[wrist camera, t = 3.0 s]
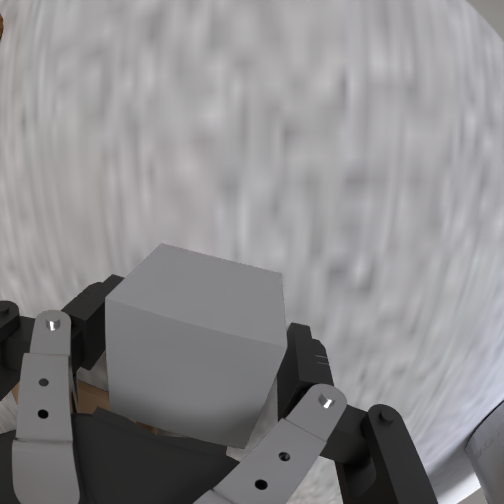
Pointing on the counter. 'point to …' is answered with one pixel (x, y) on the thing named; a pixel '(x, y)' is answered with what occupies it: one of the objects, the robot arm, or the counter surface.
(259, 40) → the counter surface
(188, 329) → the stone
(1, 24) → the primitive tool
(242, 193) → the counter surface
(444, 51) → the counter surface
